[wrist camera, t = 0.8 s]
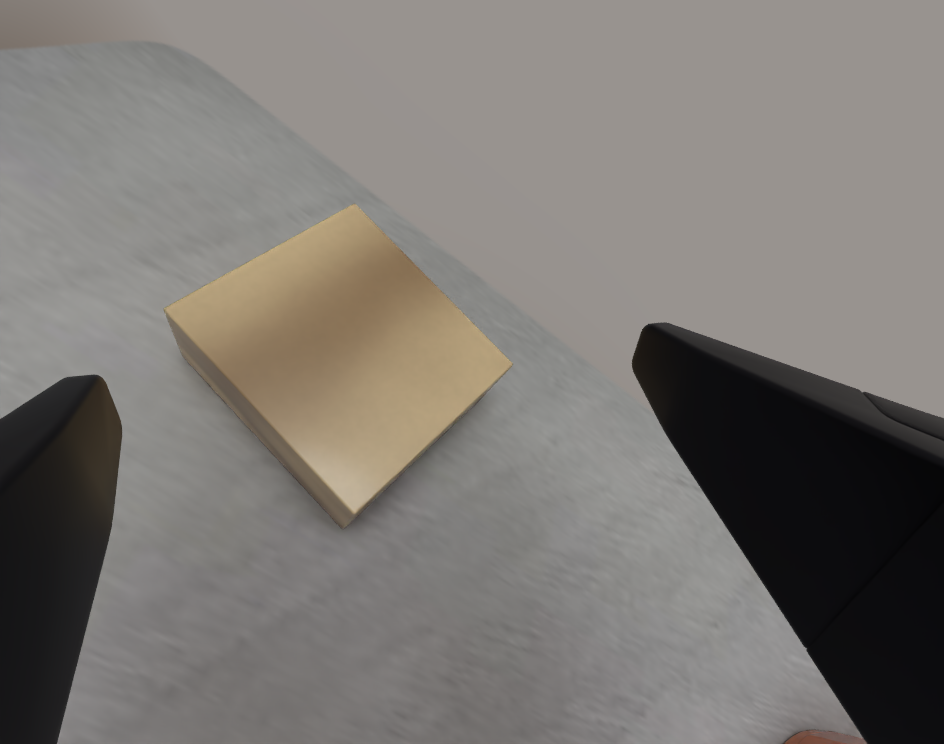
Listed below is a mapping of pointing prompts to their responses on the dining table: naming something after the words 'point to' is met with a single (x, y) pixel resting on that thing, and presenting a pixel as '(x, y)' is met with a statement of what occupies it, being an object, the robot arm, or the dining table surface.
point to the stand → (338, 357)
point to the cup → (823, 738)
